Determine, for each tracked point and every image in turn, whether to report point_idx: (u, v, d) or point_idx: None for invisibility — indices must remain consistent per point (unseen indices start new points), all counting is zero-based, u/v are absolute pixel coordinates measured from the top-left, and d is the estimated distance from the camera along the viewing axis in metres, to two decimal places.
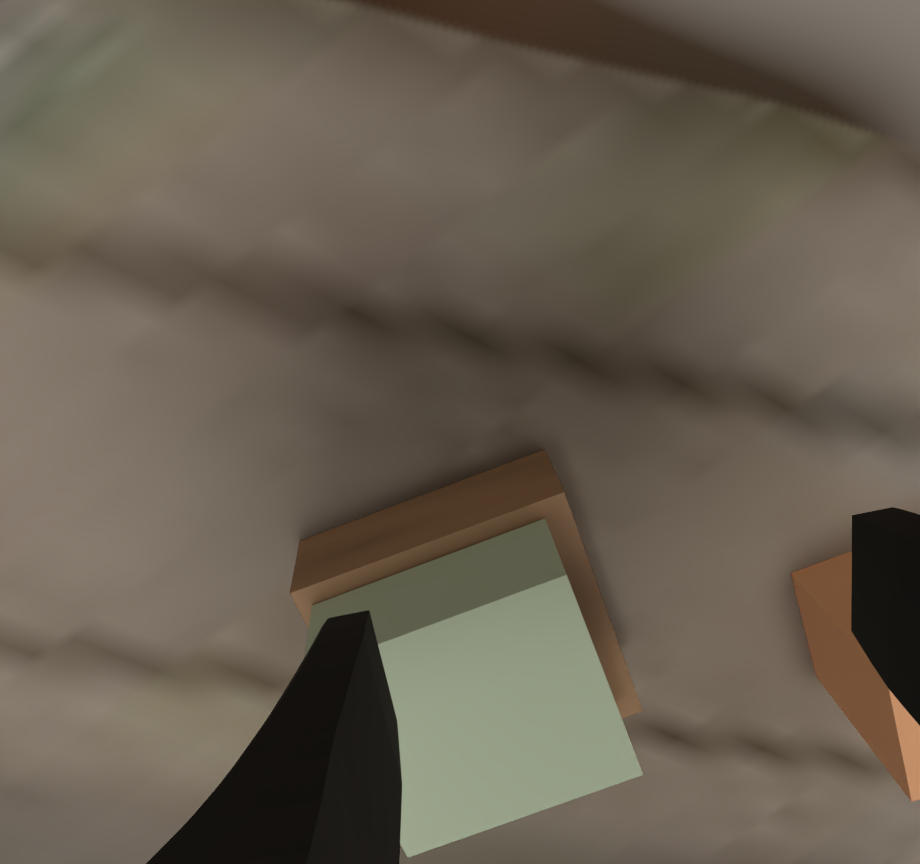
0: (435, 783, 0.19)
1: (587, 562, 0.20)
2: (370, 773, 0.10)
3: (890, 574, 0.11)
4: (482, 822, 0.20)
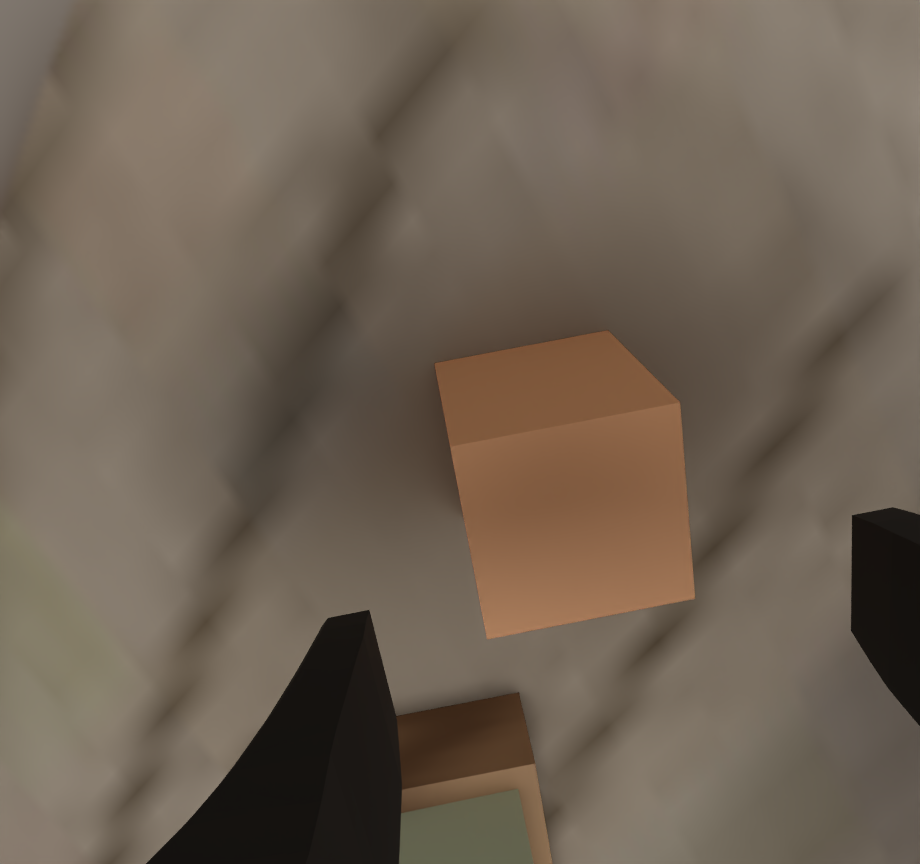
0: None
1: None
2: (370, 773, 0.10)
3: (890, 574, 0.11)
4: None
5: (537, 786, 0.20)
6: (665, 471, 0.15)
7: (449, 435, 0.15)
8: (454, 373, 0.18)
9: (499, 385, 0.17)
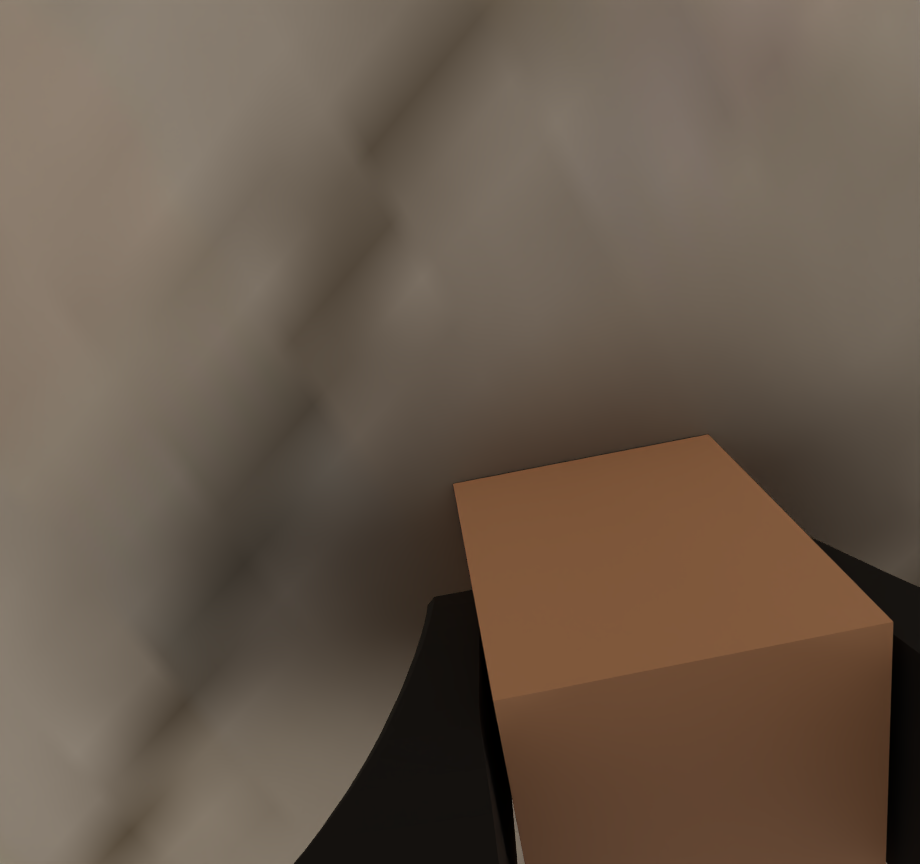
0: None
1: None
2: (495, 748, 0.10)
3: None
4: None
5: None
6: (857, 727, 0.09)
7: (489, 667, 0.09)
8: (486, 510, 0.12)
9: (561, 544, 0.11)
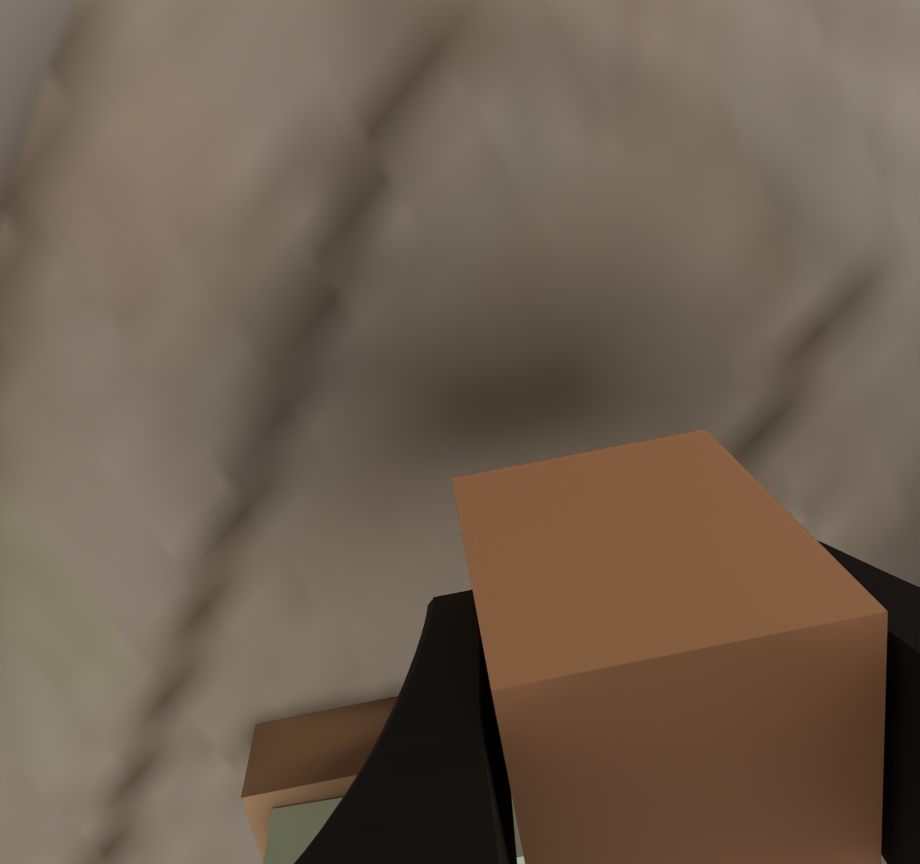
0: None
1: (323, 784, 0.20)
2: (495, 748, 0.10)
3: None
4: None
5: None
6: (852, 716, 0.09)
7: (487, 657, 0.09)
8: (483, 504, 0.12)
9: (558, 537, 0.11)
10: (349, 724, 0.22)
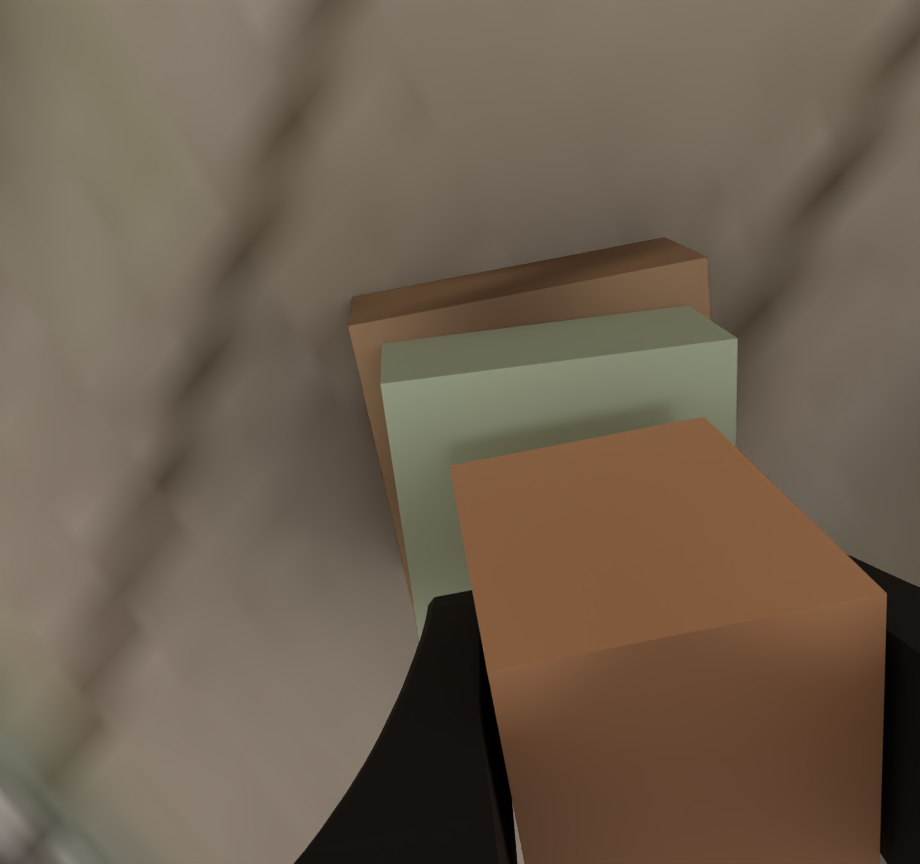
0: None
1: (453, 309, 0.16)
2: (495, 748, 0.10)
3: None
4: None
5: (707, 293, 0.16)
6: (851, 700, 0.09)
7: (484, 640, 0.09)
8: (481, 491, 0.12)
9: (556, 523, 0.11)
10: (473, 281, 0.18)
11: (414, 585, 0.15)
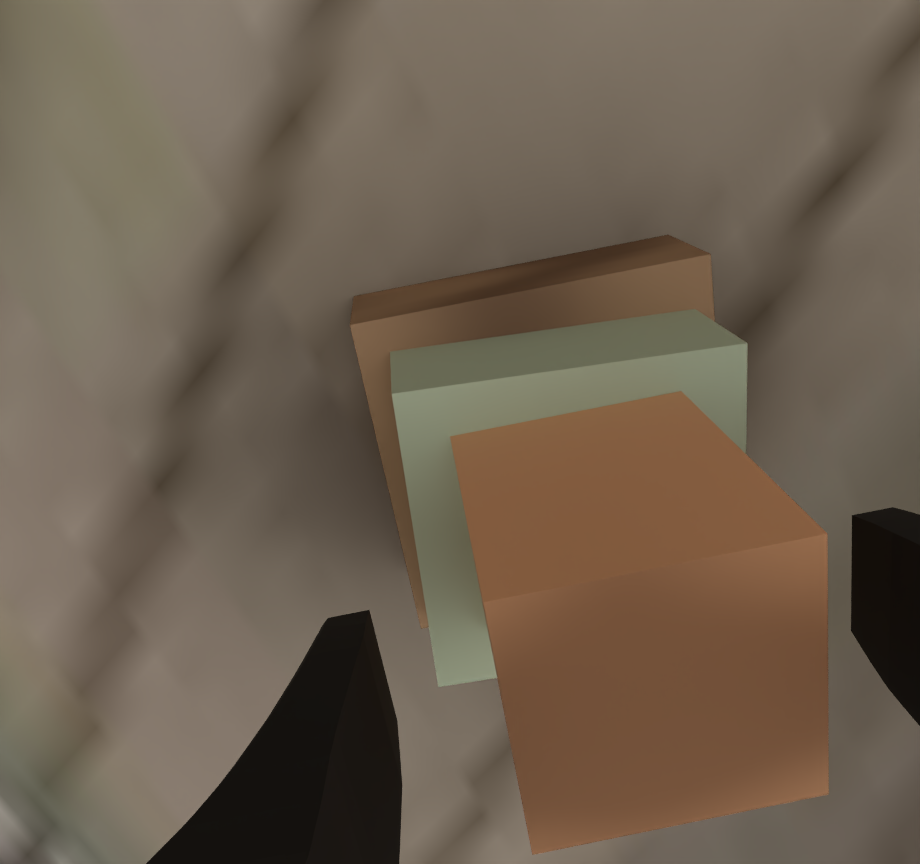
0: None
1: (455, 307, 0.16)
2: (370, 773, 0.10)
3: (890, 574, 0.11)
4: None
5: (711, 290, 0.16)
6: (799, 628, 0.10)
7: (480, 577, 0.10)
8: (479, 457, 0.13)
9: (545, 483, 0.12)
10: (475, 279, 0.17)
11: (426, 593, 0.15)
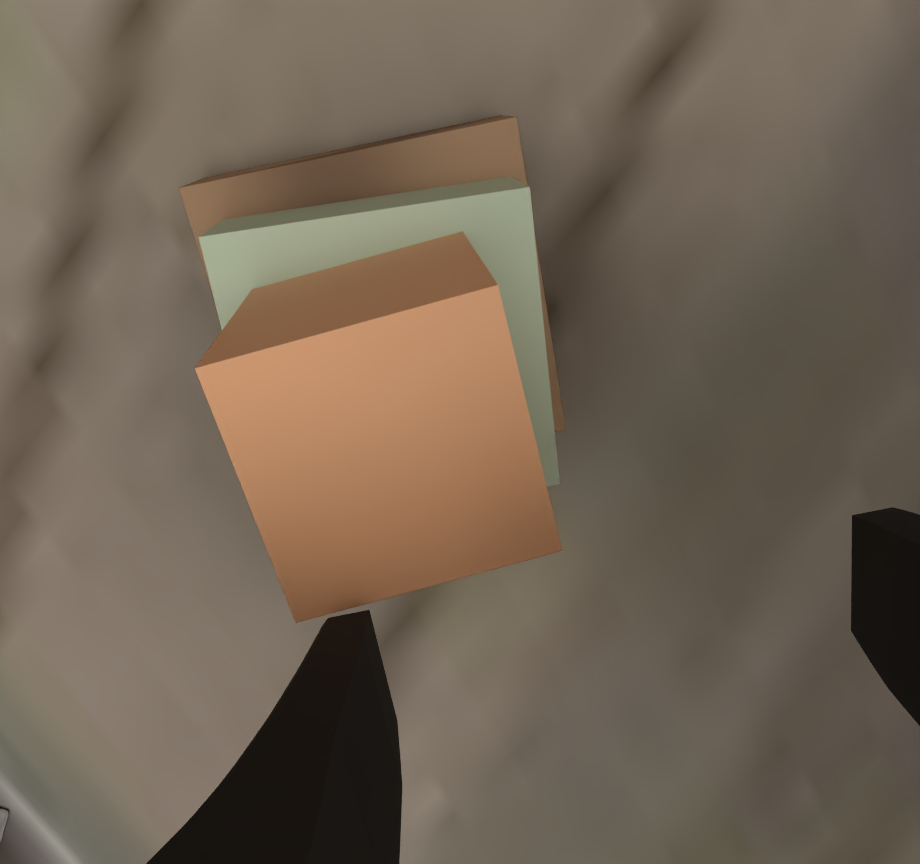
0: None
1: (277, 169, 0.17)
2: (370, 773, 0.10)
3: (890, 574, 0.11)
4: (538, 395, 0.16)
5: (520, 153, 0.17)
6: (494, 381, 0.11)
7: (204, 356, 0.11)
8: (264, 295, 0.14)
9: (303, 299, 0.13)
10: (312, 156, 0.19)
11: None
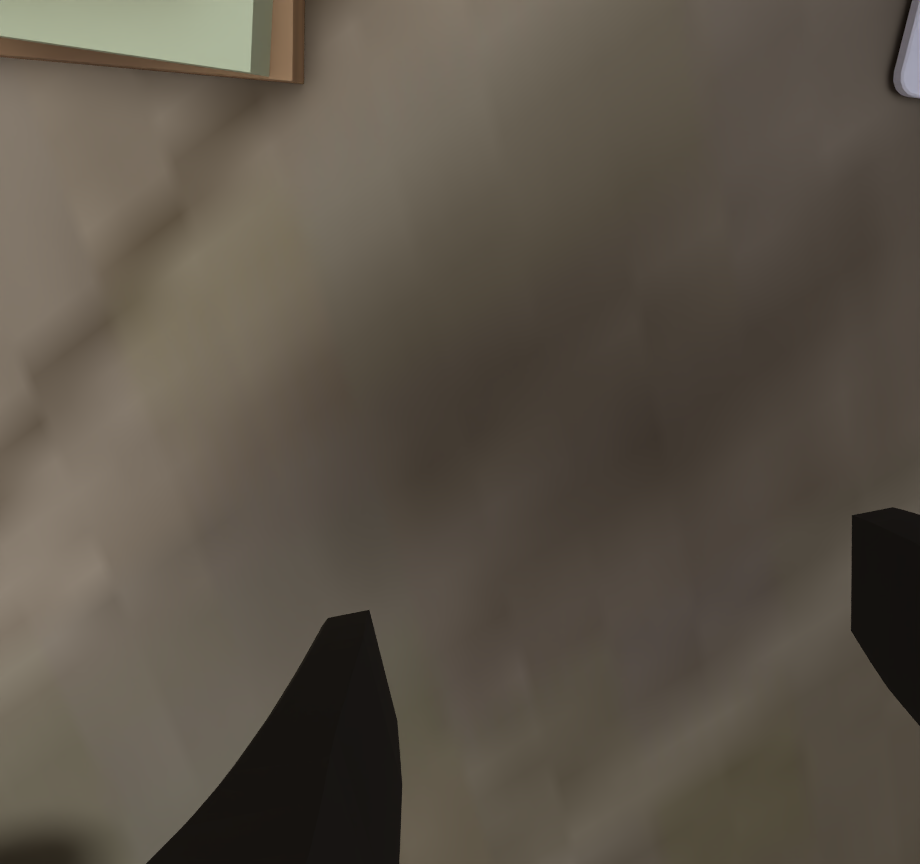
0: None
1: None
2: (370, 773, 0.10)
3: (890, 574, 0.11)
4: None
5: None
6: None
7: None
8: None
9: None
10: None
11: None
